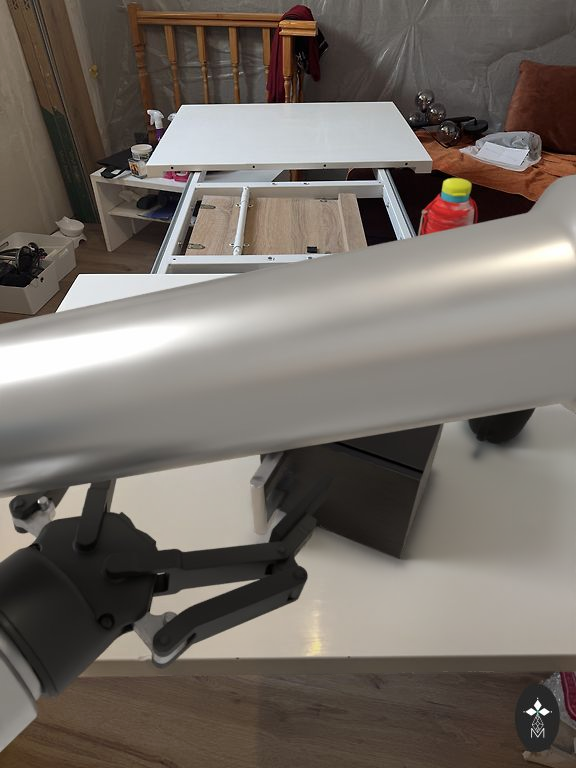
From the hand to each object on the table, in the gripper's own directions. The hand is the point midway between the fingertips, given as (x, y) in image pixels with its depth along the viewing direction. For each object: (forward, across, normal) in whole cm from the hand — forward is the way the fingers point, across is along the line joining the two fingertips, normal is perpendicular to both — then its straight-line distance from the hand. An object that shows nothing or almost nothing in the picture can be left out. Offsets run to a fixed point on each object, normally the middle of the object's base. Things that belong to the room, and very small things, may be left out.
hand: (255, 436), depth 42 cm
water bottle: (+62, -6, -20) cm, 65 cm away
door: (+11, +6, -24) cm, 27 cm away
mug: (+40, +15, -19) cm, 47 cm away
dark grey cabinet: (+21, +4, -23) cm, 31 cm away
